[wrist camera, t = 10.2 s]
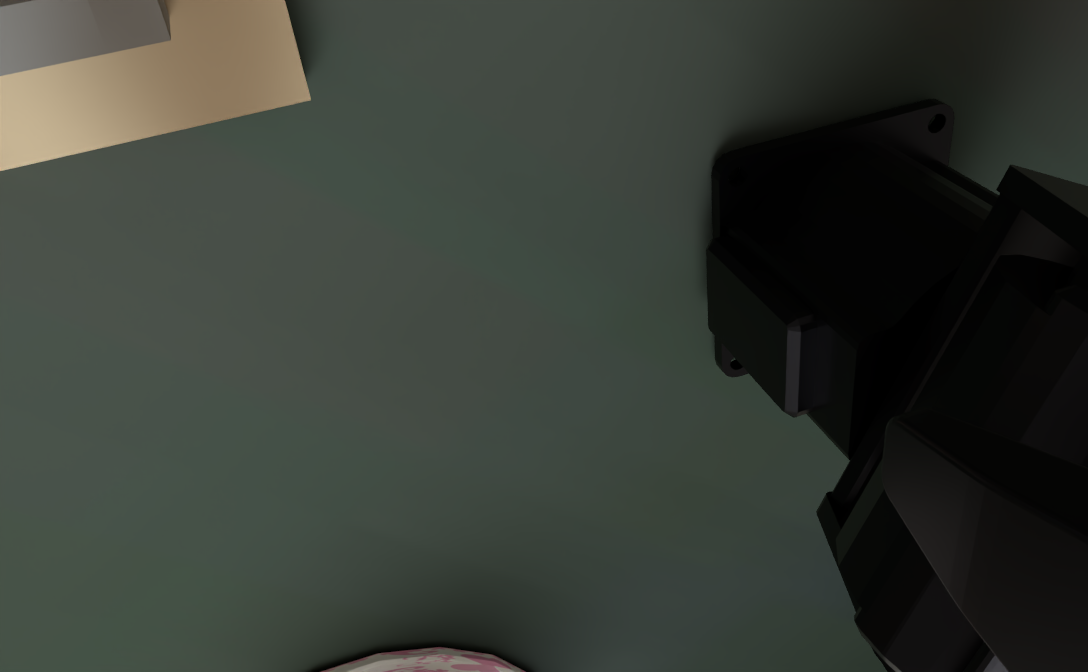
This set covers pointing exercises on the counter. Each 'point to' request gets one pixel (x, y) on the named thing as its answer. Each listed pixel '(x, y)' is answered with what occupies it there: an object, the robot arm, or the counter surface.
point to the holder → (136, 70)
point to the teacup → (428, 662)
